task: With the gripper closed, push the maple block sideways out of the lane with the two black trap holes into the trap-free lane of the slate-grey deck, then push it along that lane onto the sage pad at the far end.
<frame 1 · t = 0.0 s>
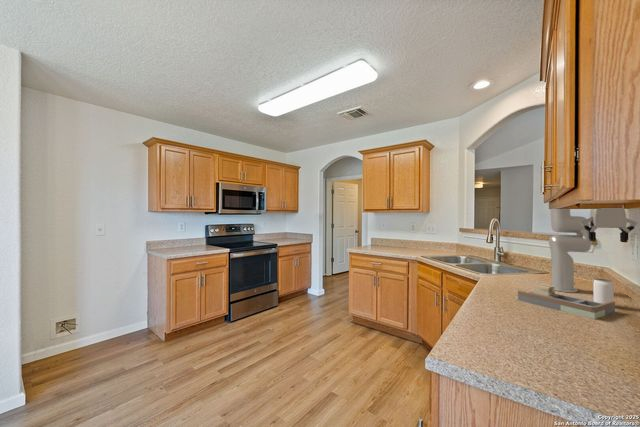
hand: (608, 241, 111), 31 cm above the worktop, tool pointing down, fingers open, 9 cm apart
block: (544, 293, 134), point 2 cm above the worktop, touching trap deck
trap deck: (563, 305, 124), on the worktop
can: (603, 305, 124), on the worktop
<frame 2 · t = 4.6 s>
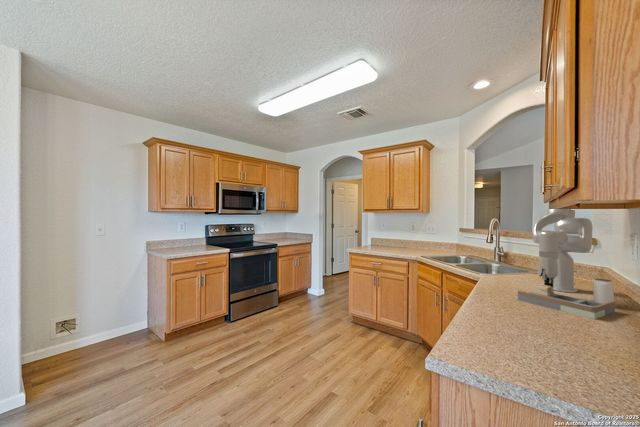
hand: (548, 290, 136), 4 cm above the worktop, tool pointing down, fingers closed
block: (543, 293, 134), point 3 cm above the worktop, touching gripper
everything else where it was.
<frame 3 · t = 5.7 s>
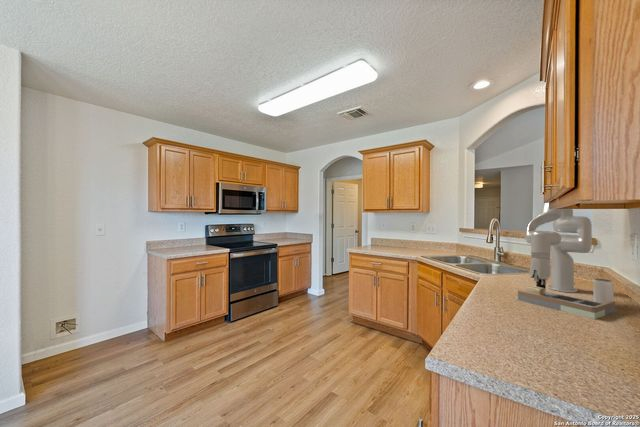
hand: (541, 292, 133), 4 cm above the worktop, tool pointing down, fingers closed
block: (535, 295, 131), point 3 cm above the worktop
everything else where it was.
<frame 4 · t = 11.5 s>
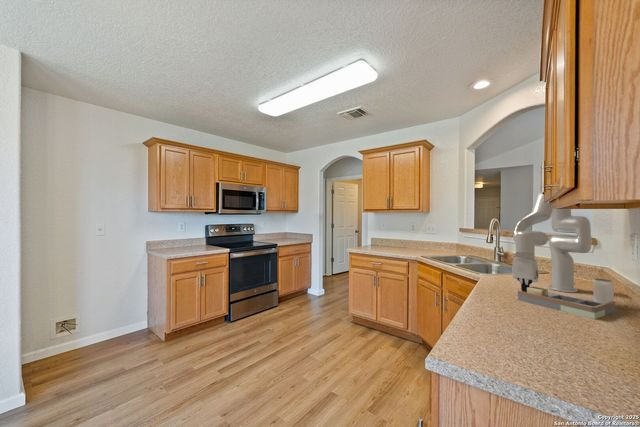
hand: (525, 291, 134), 4 cm above the worktop, tool pointing down, fingers closed
block: (537, 296, 129), point 2 cm above the worktop, touching gripper, trap deck
everything else where it was.
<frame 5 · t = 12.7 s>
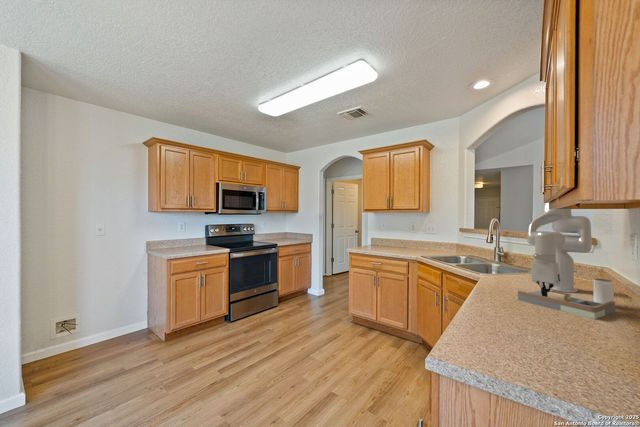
hand: (545, 296, 126), 4 cm above the worktop, tool pointing down, fingers closed
block: (558, 301, 121), point 3 cm above the worktop, touching gripper
everything else where it was.
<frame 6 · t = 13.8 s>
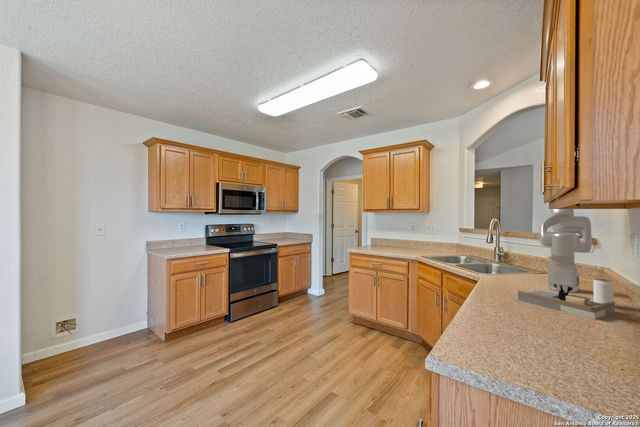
hand: (563, 300, 120), 4 cm above the worktop, tool pointing down, fingers closed
block: (578, 306, 115), point 3 cm above the worktop, touching gripper
everything else where it was.
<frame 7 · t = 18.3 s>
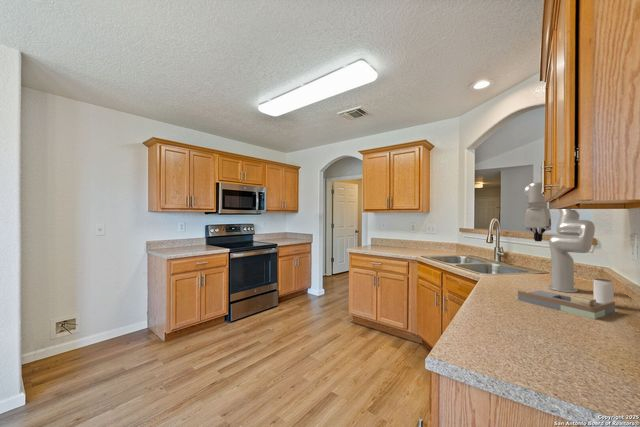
hand: (538, 241, 137), 29 cm above the worktop, tool pointing down, fingers closed
block: (583, 307, 113), point 2 cm above the worktop, touching trap deck
everything else where it was.
at the end: block 1.2 cm from the target spot on the trap deck, point 2.5 cm above the trap deck's base; block tilted 0° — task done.
